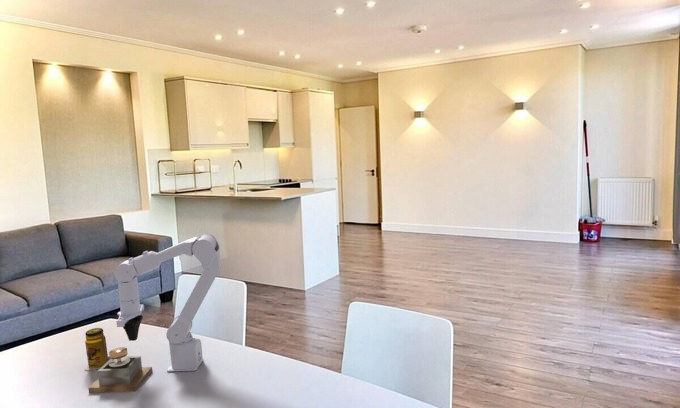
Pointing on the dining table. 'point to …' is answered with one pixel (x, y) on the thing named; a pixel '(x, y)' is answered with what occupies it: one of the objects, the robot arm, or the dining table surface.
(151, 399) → the dining table surface
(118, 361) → the plunger
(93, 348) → the condiment
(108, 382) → the base
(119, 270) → the robot arm
